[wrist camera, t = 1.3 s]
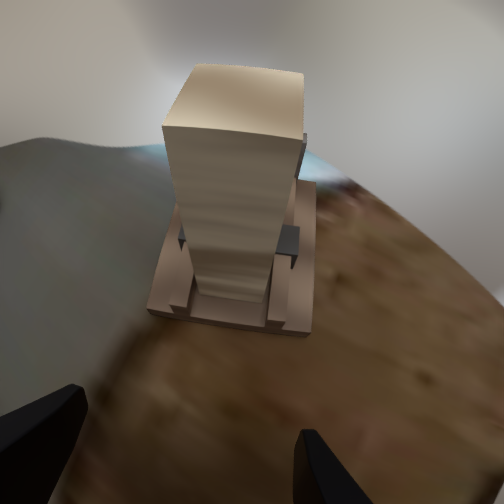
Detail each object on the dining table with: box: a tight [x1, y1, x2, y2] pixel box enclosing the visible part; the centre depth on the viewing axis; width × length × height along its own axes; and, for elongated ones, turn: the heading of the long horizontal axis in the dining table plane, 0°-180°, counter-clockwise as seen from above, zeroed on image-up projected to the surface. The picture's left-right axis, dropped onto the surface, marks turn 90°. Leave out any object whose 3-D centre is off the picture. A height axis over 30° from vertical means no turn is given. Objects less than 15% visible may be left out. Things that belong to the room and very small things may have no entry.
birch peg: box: [162, 64, 304, 303], centre depth 17 cm, size 4×4×15 cm
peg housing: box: [146, 133, 316, 337], centre depth 23 cm, size 14×12×8 cm
